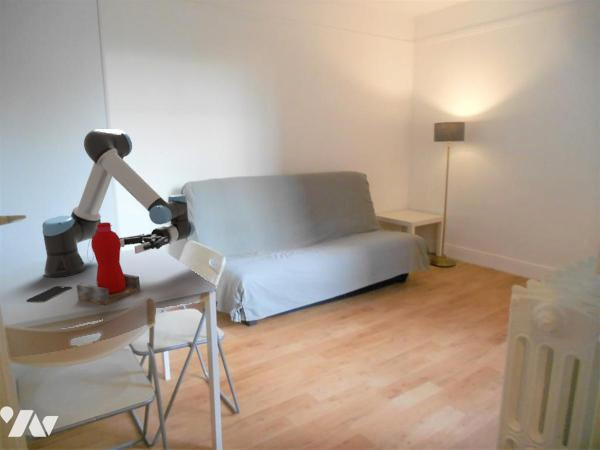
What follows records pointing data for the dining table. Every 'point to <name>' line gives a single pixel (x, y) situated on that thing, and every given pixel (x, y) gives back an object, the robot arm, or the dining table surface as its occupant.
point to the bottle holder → (102, 295)
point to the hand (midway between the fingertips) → (122, 248)
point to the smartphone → (49, 294)
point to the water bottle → (108, 259)
